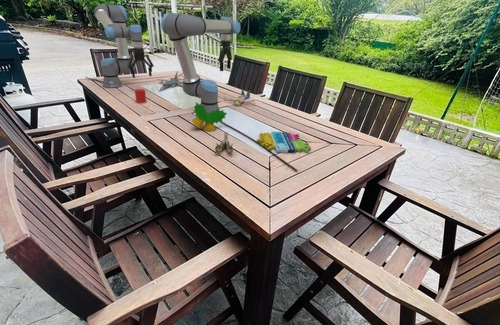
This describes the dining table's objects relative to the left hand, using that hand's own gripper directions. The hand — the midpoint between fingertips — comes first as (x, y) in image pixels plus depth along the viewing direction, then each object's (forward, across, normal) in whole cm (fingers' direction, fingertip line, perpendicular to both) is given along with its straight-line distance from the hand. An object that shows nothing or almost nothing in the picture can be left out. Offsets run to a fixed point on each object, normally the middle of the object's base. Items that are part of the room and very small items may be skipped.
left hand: (142, 76), depth 207 cm
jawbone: (+19, -12, -115) cm, 117 cm away
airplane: (+16, +37, +22) cm, 46 cm away
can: (+16, -8, -11) cm, 21 cm away
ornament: (+18, +1, -85) cm, 87 cm away
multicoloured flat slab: (+19, +21, -127) cm, 131 cm away
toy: (+17, +59, -53) cm, 81 cm away
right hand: (-8, +48, -44) cm, 66 cm away
